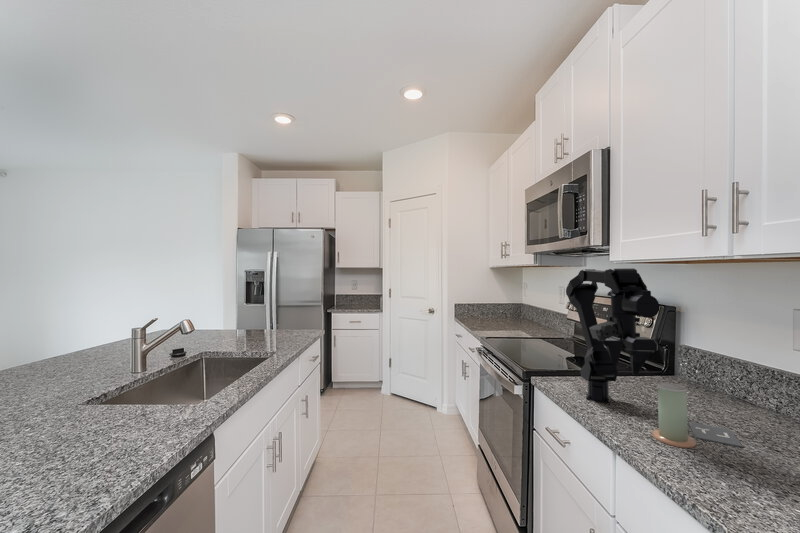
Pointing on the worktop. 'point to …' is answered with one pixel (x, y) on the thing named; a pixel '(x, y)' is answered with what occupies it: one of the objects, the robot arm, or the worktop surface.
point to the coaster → (688, 444)
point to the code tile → (714, 434)
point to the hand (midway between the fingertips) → (624, 369)
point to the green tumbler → (672, 411)
